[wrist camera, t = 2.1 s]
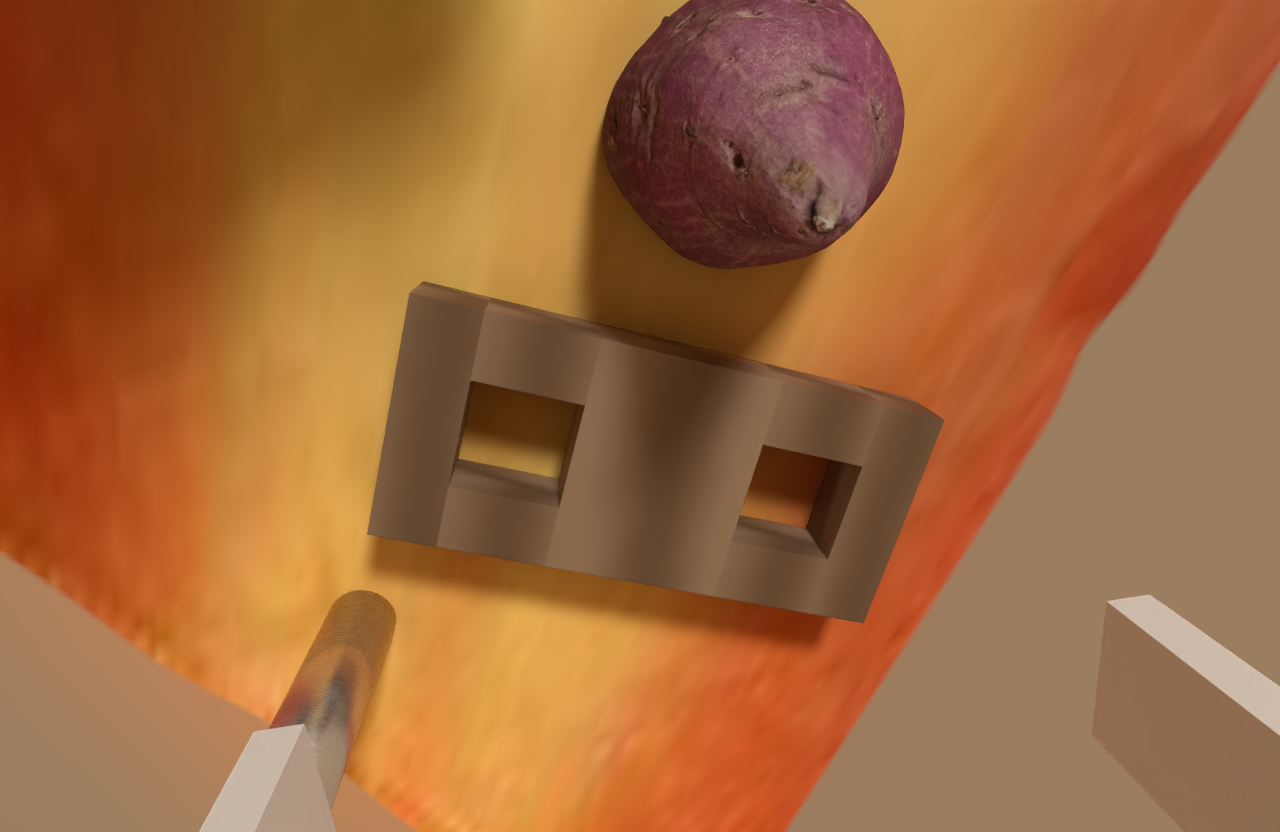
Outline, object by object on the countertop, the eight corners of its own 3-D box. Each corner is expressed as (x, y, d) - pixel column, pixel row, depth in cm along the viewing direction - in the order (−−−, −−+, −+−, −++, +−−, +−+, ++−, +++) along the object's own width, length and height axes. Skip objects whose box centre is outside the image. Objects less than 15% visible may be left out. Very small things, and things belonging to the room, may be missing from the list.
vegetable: (768, 273, 35) (896, 476, 23) (562, 182, 31) (582, 365, 19) (904, 48, 30) (1162, 152, 18) (678, -89, 26) (806, -79, 14)
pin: (324, 641, 35) (213, 869, 23) (333, 585, 34) (222, 794, 23) (390, 651, 35) (312, 878, 24) (401, 596, 34) (325, 805, 23)
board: (383, 502, 33) (367, 534, 30) (423, 281, 30) (409, 293, 27) (839, 588, 37) (863, 623, 34) (912, 398, 34) (944, 419, 31)
